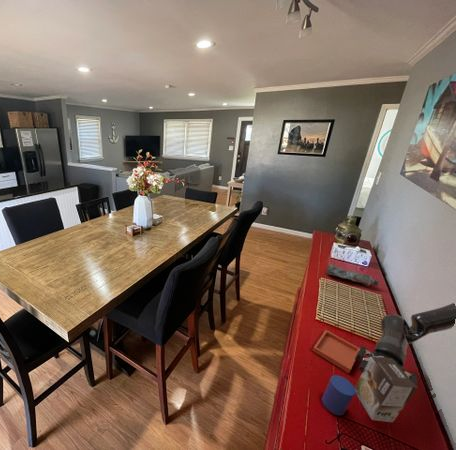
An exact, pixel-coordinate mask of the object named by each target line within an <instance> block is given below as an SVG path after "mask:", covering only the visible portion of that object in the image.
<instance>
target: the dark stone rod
mask: <svg viewBox="0 0 456 450" xmlns="http://www.w3.org/2000/svg"><path fill="white" fill-rule="evenodd" d="M325 270H326V275H328V276H335V277H339V278H341V279H347V280H350V281H352V282H356V283H360V284H362V285H364V286H365V287H369V286H370V285H372V286H378V284H379V280H377V279H373V278H372V275H369V274H364V273H359V272H356V271H353V270H346V269H344V268H342V267H339V266H337V265H335V264H333V263H329V264H328V267H326V268H325Z"/></svg>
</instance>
